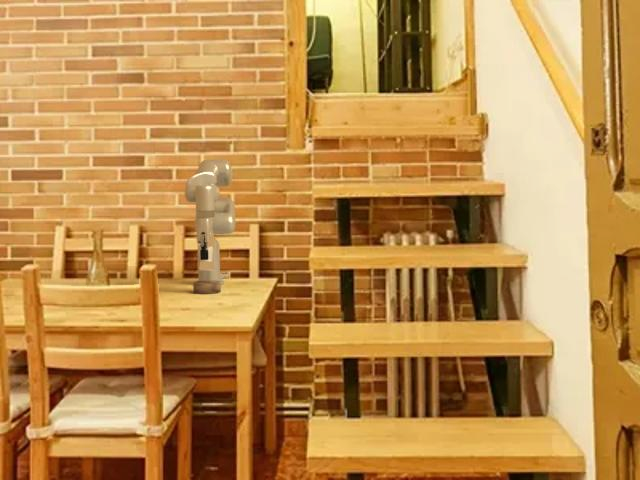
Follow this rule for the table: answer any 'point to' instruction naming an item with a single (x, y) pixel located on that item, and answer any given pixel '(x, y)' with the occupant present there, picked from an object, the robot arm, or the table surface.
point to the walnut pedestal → (206, 287)
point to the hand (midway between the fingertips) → (206, 258)
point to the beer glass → (208, 264)
